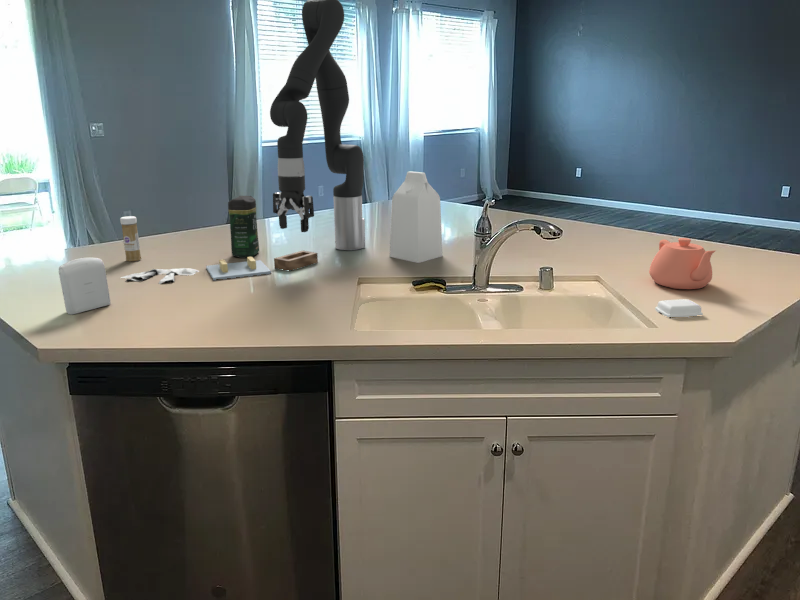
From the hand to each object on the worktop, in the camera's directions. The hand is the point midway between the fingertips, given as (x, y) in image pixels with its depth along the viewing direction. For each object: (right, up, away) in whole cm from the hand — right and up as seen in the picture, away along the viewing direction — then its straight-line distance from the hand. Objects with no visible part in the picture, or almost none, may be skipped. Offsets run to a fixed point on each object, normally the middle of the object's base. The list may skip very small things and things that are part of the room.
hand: (294, 230), depth 187 cm
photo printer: (-44, -23, -33) cm, 60 cm away
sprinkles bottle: (-51, -8, +11) cm, 53 cm away
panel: (-16, -12, -2) cm, 20 cm away
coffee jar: (-18, -6, +17) cm, 25 cm away
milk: (+36, -7, +13) cm, 39 cm away
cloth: (-37, -15, -8) cm, 41 cm away
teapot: (+105, -17, -18) cm, 108 cm away
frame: (0, -10, +4) cm, 11 cm away
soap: (+95, -24, -39) cm, 106 cm away
